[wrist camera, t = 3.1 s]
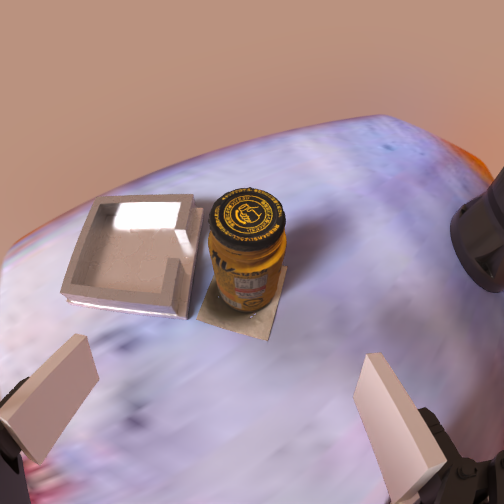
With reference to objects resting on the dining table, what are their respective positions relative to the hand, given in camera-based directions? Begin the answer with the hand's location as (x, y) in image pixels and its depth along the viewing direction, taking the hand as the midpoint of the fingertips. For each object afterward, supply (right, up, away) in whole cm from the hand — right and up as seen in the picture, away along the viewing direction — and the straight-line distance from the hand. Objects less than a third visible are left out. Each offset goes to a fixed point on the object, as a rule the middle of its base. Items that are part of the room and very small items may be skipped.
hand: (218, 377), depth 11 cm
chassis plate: (-12, +5, +19) cm, 23 cm away
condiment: (+1, +1, +17) cm, 17 cm away
